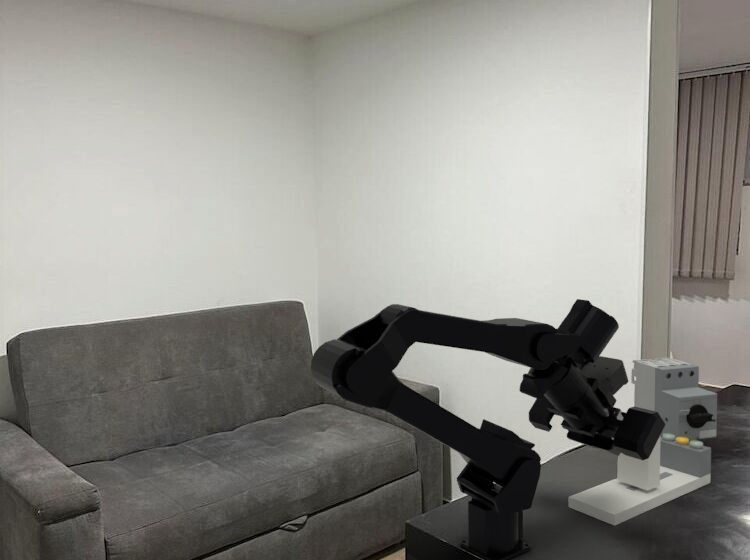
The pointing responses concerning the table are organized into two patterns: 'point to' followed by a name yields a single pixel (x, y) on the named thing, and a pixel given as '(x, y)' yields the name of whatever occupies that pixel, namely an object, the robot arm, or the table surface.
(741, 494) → the table surface
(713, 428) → the circuit breaker
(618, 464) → the handle
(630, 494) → the long white slab
